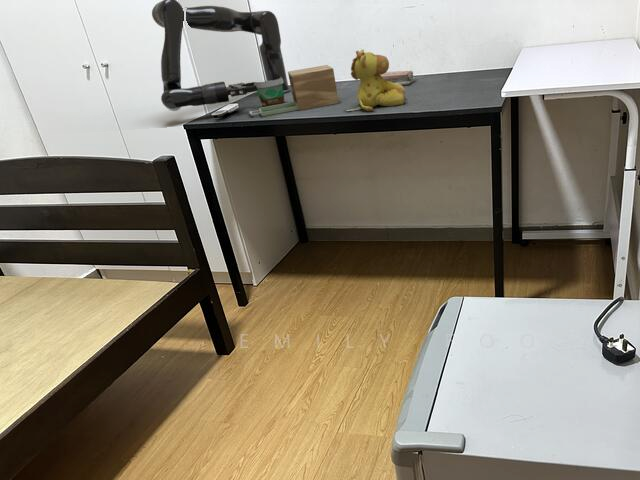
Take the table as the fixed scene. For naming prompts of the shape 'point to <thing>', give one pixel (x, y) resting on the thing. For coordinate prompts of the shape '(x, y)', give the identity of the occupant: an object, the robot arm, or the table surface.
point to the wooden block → (313, 87)
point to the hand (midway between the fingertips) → (255, 86)
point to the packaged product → (399, 77)
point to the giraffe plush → (375, 82)
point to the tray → (275, 108)
